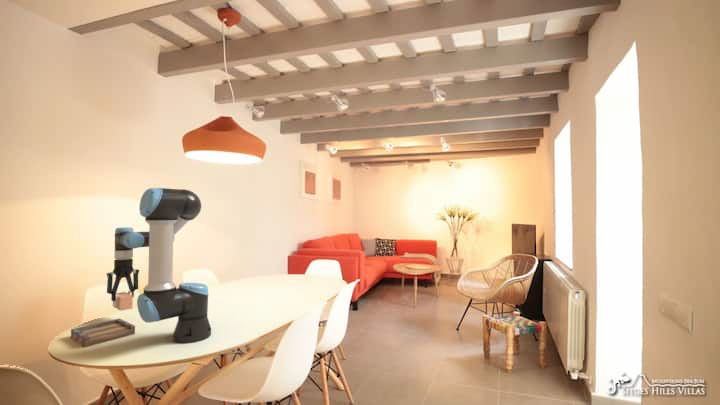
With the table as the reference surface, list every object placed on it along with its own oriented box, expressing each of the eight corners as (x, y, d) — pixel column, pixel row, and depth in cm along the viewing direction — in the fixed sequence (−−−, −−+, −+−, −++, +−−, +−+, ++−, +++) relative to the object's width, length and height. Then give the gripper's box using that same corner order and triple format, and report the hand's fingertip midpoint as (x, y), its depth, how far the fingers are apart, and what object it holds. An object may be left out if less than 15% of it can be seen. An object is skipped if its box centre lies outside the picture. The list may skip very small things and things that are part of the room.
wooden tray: (134, 334, 151) (135, 325, 151) (84, 347, 136) (85, 338, 136) (119, 326, 160) (119, 318, 160) (70, 338, 145) (71, 329, 145)
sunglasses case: (132, 308, 165) (132, 296, 165) (120, 310, 161) (120, 298, 161) (124, 303, 174) (124, 291, 174) (112, 305, 170) (113, 293, 170)
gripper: (140, 256, 178) (139, 300, 177) (98, 260, 163) (97, 309, 162) (147, 257, 174) (146, 303, 173) (104, 261, 158) (103, 311, 158)
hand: (122, 305), depth 167 cm, fingers closed on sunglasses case, 5 cm apart
